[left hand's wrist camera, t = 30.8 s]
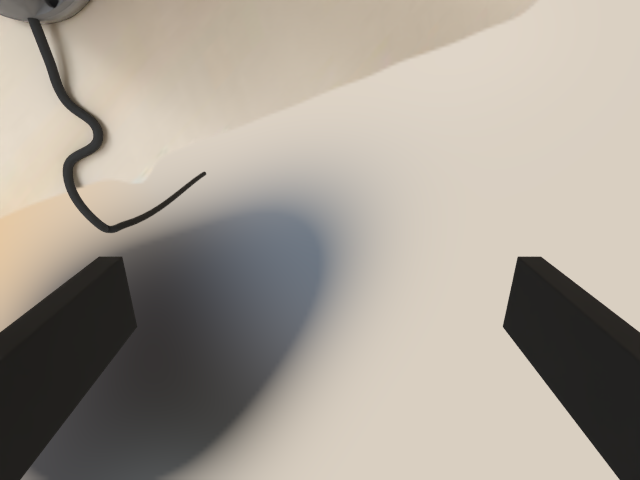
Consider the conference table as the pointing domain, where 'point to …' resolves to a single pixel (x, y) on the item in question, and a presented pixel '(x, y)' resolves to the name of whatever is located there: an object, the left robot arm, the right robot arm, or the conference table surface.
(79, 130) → the conference table surface
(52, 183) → the conference table surface
